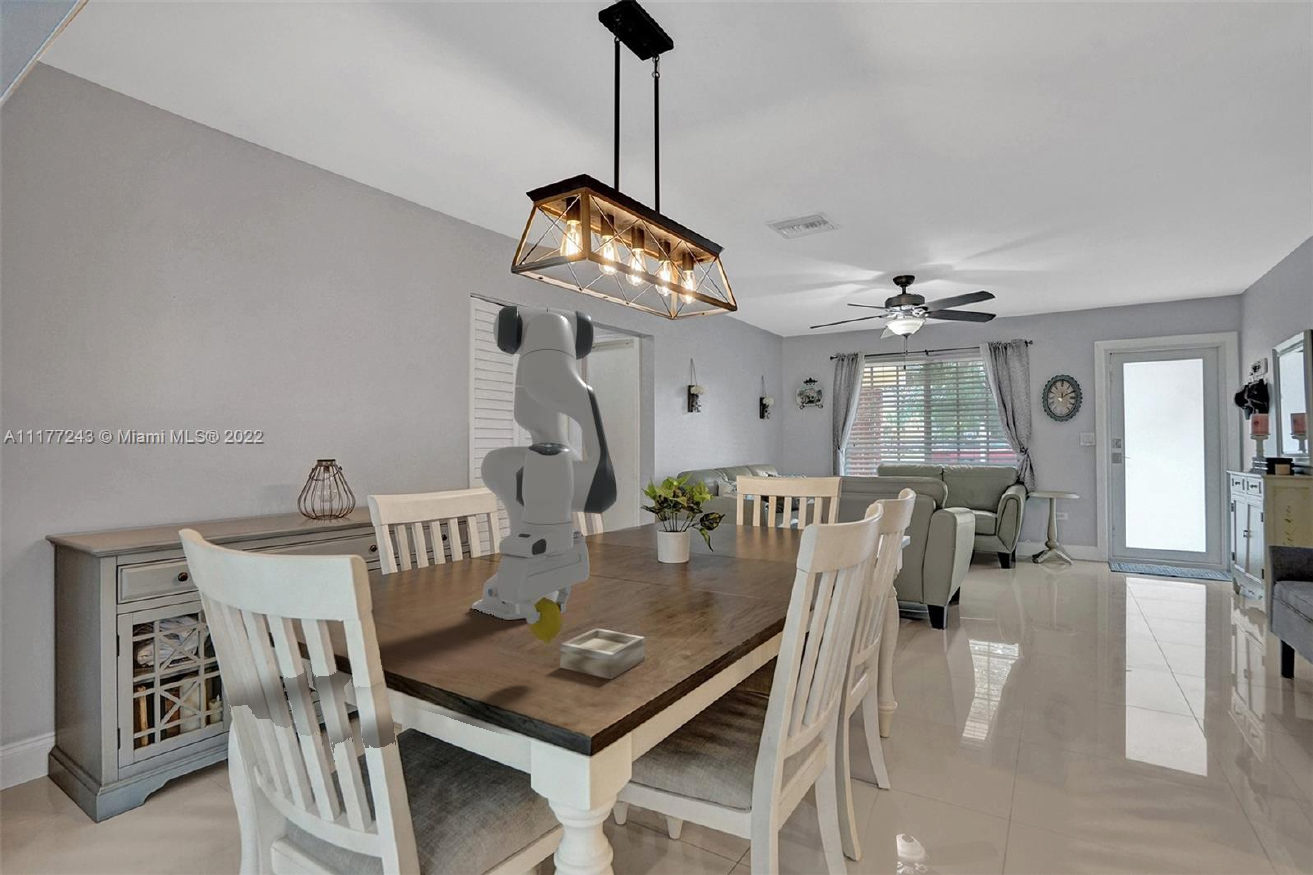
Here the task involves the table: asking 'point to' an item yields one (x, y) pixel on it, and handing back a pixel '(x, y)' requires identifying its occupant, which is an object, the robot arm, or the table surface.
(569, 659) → the base
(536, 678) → the table surface
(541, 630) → the lemon
